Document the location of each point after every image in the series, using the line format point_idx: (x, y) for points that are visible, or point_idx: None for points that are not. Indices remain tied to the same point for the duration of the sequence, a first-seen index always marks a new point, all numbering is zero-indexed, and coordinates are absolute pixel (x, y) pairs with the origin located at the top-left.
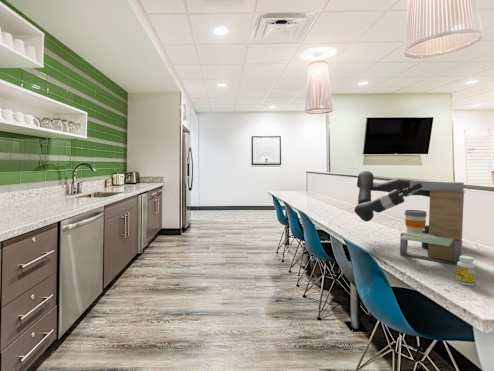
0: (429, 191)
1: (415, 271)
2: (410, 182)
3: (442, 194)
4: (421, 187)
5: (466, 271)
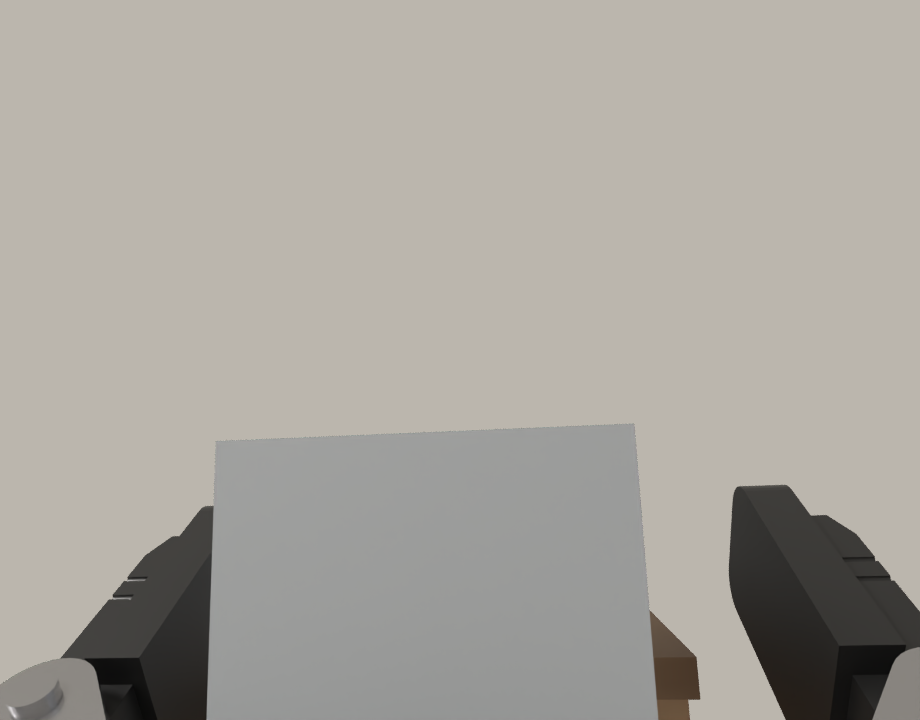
0: (696, 676)
1: None
2: (629, 472)
3: None
4: (745, 613)
5: None
